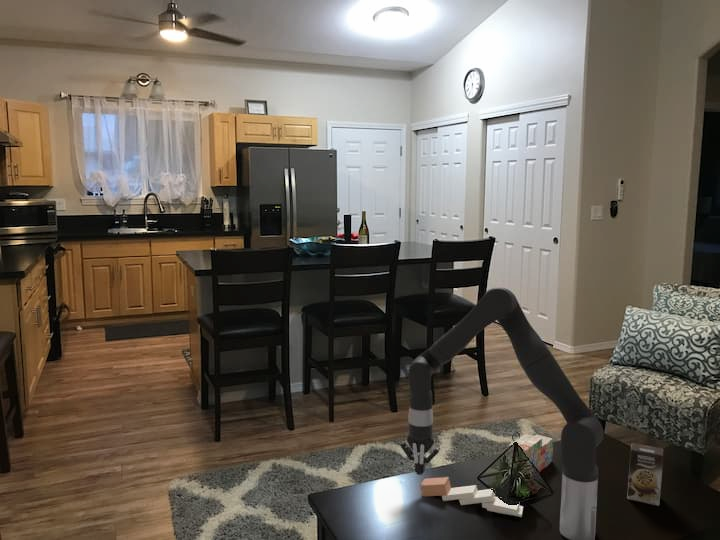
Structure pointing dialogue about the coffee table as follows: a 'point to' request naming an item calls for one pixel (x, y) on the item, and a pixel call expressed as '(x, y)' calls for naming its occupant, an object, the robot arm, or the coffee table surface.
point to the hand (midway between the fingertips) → (419, 473)
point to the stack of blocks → (537, 449)
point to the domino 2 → (461, 493)
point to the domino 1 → (435, 486)
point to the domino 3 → (479, 497)
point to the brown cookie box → (645, 474)
